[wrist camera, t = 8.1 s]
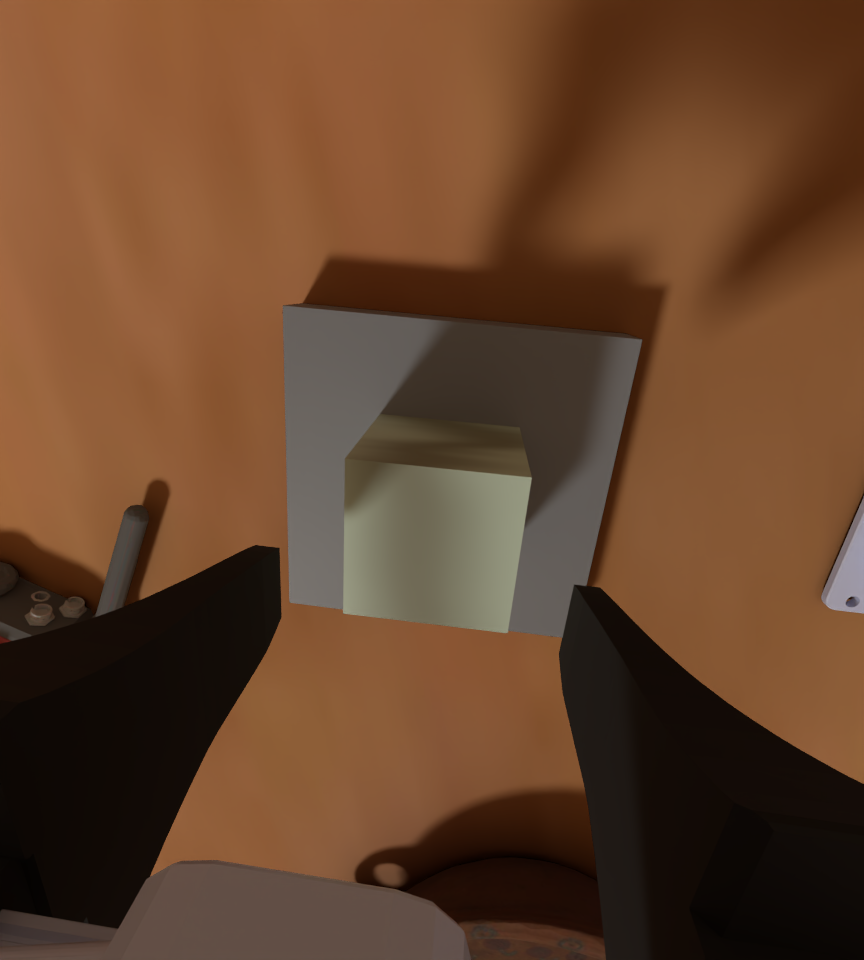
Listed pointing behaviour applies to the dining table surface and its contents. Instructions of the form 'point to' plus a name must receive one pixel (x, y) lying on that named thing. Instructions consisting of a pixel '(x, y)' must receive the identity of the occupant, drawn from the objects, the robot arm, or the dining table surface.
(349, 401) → the stand
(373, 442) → the cube
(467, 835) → the dining table surface
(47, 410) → the dining table surface
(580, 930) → the dish
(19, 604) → the walkie-talkie
